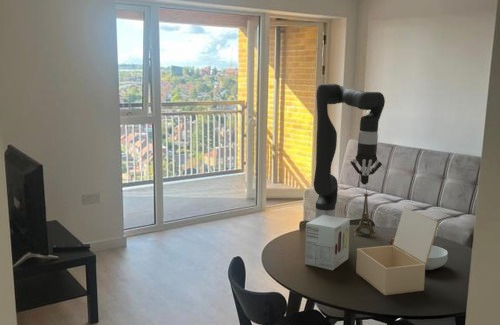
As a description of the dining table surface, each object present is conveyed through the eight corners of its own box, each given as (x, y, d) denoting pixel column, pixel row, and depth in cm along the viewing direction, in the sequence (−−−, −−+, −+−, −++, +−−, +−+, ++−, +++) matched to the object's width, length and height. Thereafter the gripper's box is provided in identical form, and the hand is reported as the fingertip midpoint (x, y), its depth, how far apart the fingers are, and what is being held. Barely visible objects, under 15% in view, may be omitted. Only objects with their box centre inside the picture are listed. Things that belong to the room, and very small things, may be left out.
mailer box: (384, 295, 171) (385, 268, 170) (356, 272, 192) (357, 248, 191) (423, 290, 175) (425, 264, 174) (391, 268, 196) (392, 245, 195)
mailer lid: (437, 221, 172) (439, 222, 172) (403, 207, 193) (404, 207, 193) (425, 263, 173) (426, 263, 174) (392, 244, 195) (393, 244, 195)
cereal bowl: (413, 256, 210) (414, 241, 209) (452, 265, 200) (453, 249, 199) (397, 267, 197) (398, 251, 196) (438, 277, 187) (440, 260, 186)
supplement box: (333, 271, 194) (335, 228, 191) (304, 264, 201) (305, 223, 198) (349, 258, 208) (350, 218, 205) (321, 252, 215) (322, 214, 212)
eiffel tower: (375, 237, 237) (377, 188, 234) (353, 236, 240) (355, 187, 236) (375, 231, 248) (377, 184, 244) (354, 230, 250) (355, 183, 246)
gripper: (352, 142, 188) (349, 185, 191) (386, 144, 187) (382, 187, 191) (349, 140, 195) (346, 181, 199) (382, 141, 195) (378, 182, 198)
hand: (364, 184), depth 195 cm, fingers closed
